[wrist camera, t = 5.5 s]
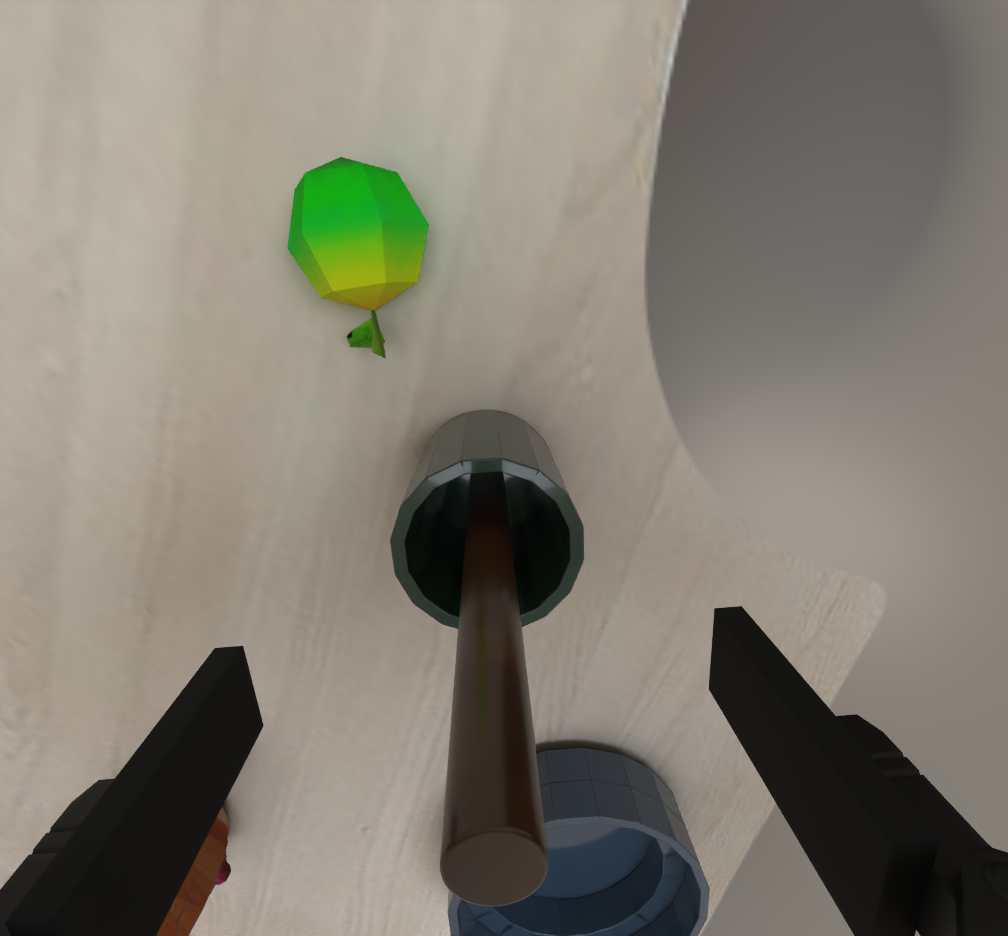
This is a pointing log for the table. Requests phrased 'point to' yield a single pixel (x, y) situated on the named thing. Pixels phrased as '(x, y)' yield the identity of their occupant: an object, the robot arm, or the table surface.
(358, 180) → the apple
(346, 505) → the table surface
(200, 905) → the mug
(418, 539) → the holder
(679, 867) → the bowl
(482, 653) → the stick
